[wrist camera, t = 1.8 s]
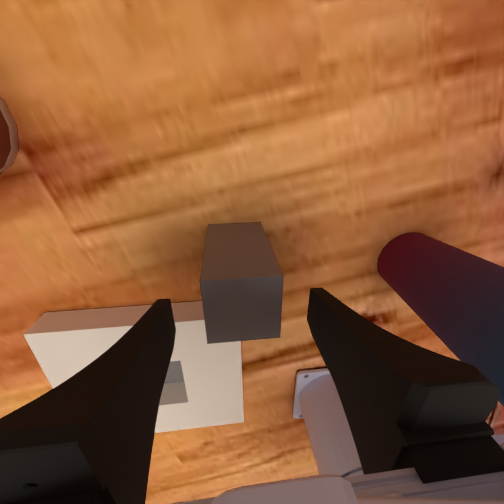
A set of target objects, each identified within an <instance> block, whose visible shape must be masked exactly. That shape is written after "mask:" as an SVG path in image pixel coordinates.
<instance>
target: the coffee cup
mask: <svg viewBox="0 0 504 504" xmlns="http://www.w3.org/2000/svg"><path fill="white" fill-rule="evenodd" d="M18 150H19V144H18V133H17V126H16V124H15V122H14V120H13V118H12V116H11V113H10V111H9V109H8V107H7V105H6V103H5V102H4V101H3V99H2V98H1V97H0V174H1V173H2V172H3V171H5V170H6V169H8V168H9V167H11V166H12V164H13V162H14V159H15V157H16V155H17V152H18Z"/></svg>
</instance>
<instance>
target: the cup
mask: <svg viewBox="0 0 504 504" xmlns="http://www.w3.org/2000/svg"><path fill="white" fill-rule="evenodd" d="M378 271H379V274H380V275H381V277H382V278H383V279H384V280H385V281H386V282H387V283H388V284H389V285H390V286H391V287H392V288H393V289H394V291H395V292H396V293H397V294H398V295H399V296H400V297H401V298H402V299H403V300H404V301H405V302H406V303H407V304H408V305H409V306H410V307H411V309H412V310H413V311H414V312H415V313H416V314H417V315H418V316H419V317H420V318H421V319H422V320H423V321H424V322H425V323H426V324H427V326H428V327H429V328H430V329H431V330H432V331H433V332H434V333H435V334H436V335H437V336H438V337H439V338H440V339H441V340H442V341H443V343H444V344H445V345H446V346H447V347H448V348H449V349H450V350H451V351H452V352H453V353H454V354H455V355H456V356H457V357H458V358H459V360H460V361H461V362H464V363H467V364H471V365H474V366H475V367H476V368H477V369H478V370H480V371H481V372H482V373H483V374H484V375H485V376H486V377H487V378H488V379H489V380H490V381H491V382H492V383H494V384H495V385H496V386H497V388H498V390H499V400H498V401H499V402H500V403H501V404H502V405H503V406H504V267H502V266H499V265H497V264H494V263H492V262H489V261H487V260H485V259H482V258H480V257H477V256H475V255H472V254H470V253H468V252H465V251H463V250H460V249H458V248H455V247H453V246H451V245H448V244H446V243H443V242H441V241H438V240H436V239H433V238H431V237H429V236H426V235H424V234H421V233H414V232H413V233H406V234H403V235H401V236H399V237H397V238H395V239H394V240H392V241H391V242H390V243H389V244H388V245H387V246H386V247H385V248H384V249H383V251H382V253H381V254H380V257H379V260H378Z"/></svg>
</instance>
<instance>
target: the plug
mask: <svg viewBox="0 0 504 504" xmlns="http://www.w3.org/2000/svg"><path fill="white" fill-rule="evenodd" d="M200 287H201V296H202V304H203V312H204V321H205V329H206V337H207V344H213V343H224V342H235V341H246V340H257V339H269V338H280V331H281V312H282V293H283V274H282V271H281V269H280V266H279V264H278V262H277V259H276V257H275V255H274V252H273V250H272V248H271V245H270V243H269V241H268V238H267V236H266V234H265V231H264V229H263V227H262V224H261V222H253V223H231V224H208V230H207V237H206V243H205V250H204V257H203V263H202V270H201V276H200Z"/></svg>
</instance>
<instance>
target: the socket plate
mask: <svg viewBox="0 0 504 504" xmlns="http://www.w3.org/2000/svg"><path fill="white" fill-rule="evenodd" d="M151 306H152V305H140V306H126V307H113V308H99V309H85V310H72V311H58V312H45V313H44V314H43V315H42V316H41V317H40V318H39V319H38V320H37V321H36V322H35V323H34V324H33V325H32V326H31V327H30V328H29V329H28V330H27V331H26V332H25V333H24V334H23V335H24V337H25V339H26V340H27V342H28V344H29V346H30V348H31V350H32V351H33V353H34V355H35V357H36V359H37V360H38V362H39V364H40V366H41V368H42V370H43V371H44V373H45V375H46V377H47V379H48V381H49V382H50V384H51V386H52V388H55V387H57V386H58V385H60V384H61V383H63V382H64V381H66V380H67V379H69V378H70V377H72V376H73V375H75V374H76V373H78V372H79V371H80V370H82V369H83V368H85V367H86V366H87V365H89V364H90V363H91V362H93V361H94V360H95V359H97V358H98V357H99V356H100V355H102V354H103V353H104V352H105V351H107V350H108V349H109V348H110V347H111V346H112V345H114V344H115V343H116V342H117V341H118V340H119V339H120V338H121V337H122V336H123V335H124V334H125V333H126V332H127V331H128V330H129V329H130V328H131V327H132V326H133V325H134V324H135V323H136V322H137V321H138V320H139V319H140V318H141V317H142V316H143V315H144V314H145V313H146V311H147V310H148V309H149V308H150V307H151ZM171 306H172V311H173V317H174V322H175V327H176V334H175V342H174V349H173V353H172V357H171V360H170V364H169V368H168V371H167V375H166V379H165V383H164V386H163V390H162V394H161V398H160V403H159V408H158V414H157V420H156V426H155V433H158V432H166V431H175V430H183V429H191V428H200V427H208V426H216V425H225V424H233V423H241V422H244V412H243V387H242V362H241V341H235V342H224V343H213V344H207V337H206V329H205V321H204V312H203V304H202V301H194V302H181V303H171Z"/></svg>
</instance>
